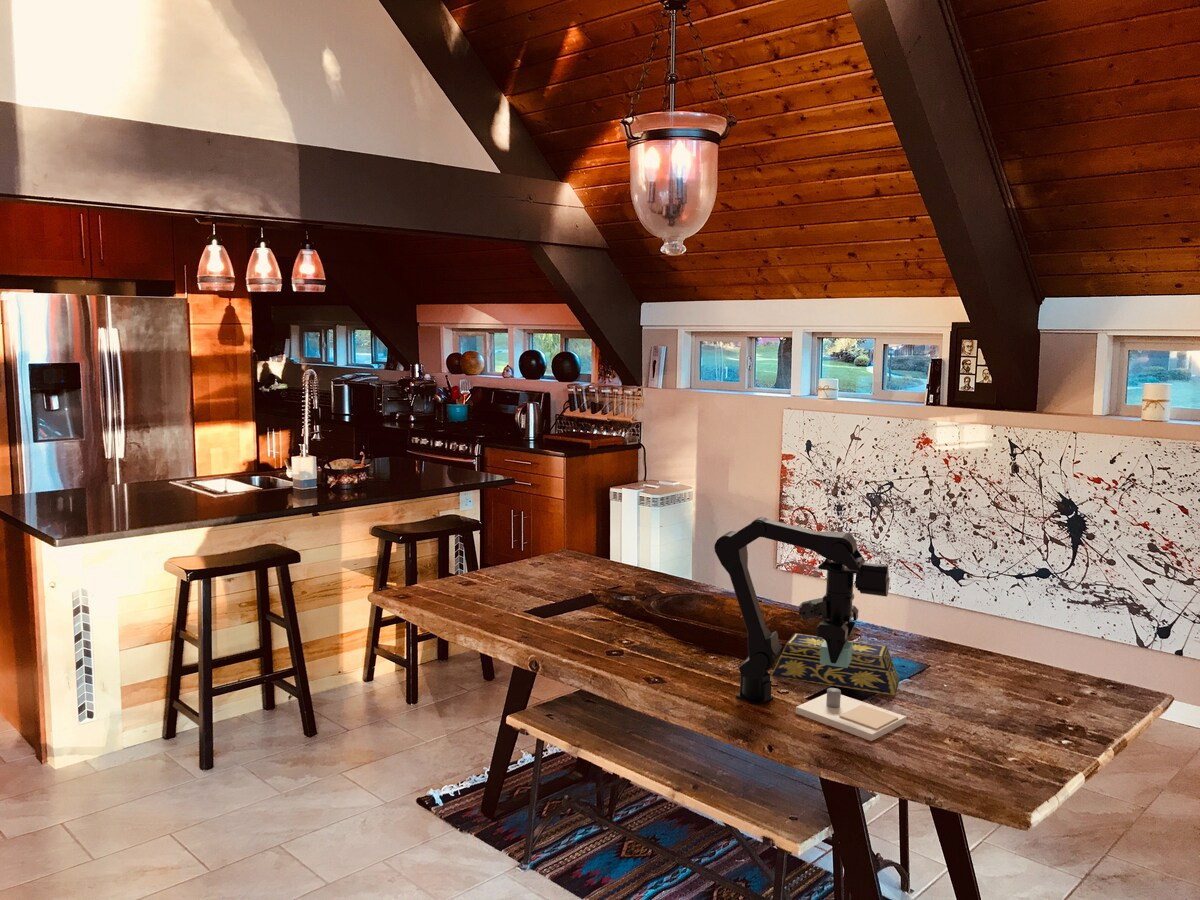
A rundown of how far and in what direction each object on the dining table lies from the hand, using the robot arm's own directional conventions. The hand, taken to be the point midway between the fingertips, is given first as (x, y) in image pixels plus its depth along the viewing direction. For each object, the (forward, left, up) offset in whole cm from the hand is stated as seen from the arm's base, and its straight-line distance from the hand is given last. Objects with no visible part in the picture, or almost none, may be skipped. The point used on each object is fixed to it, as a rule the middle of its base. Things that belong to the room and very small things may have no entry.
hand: (835, 658), depth 212 cm
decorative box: (-12, +19, -13) cm, 25 cm away
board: (+4, 0, -12) cm, 13 cm away
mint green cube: (0, 0, -1) cm, 1 cm away
